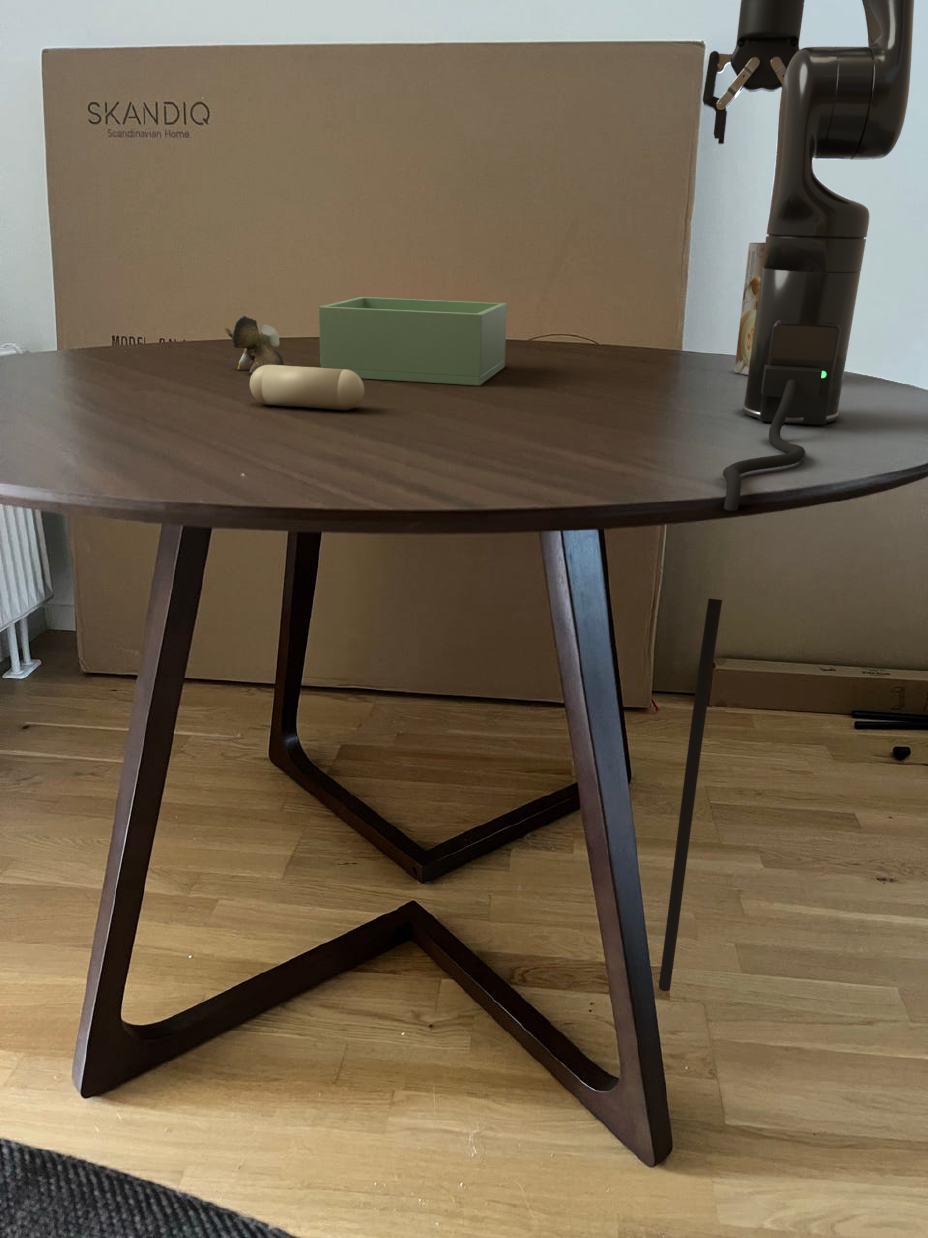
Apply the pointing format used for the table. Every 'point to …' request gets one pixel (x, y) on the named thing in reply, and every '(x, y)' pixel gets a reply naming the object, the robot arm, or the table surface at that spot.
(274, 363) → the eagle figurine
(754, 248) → the coffee box
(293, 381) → the beige capsule
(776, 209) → the robot arm
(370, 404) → the table surface
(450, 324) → the bin
